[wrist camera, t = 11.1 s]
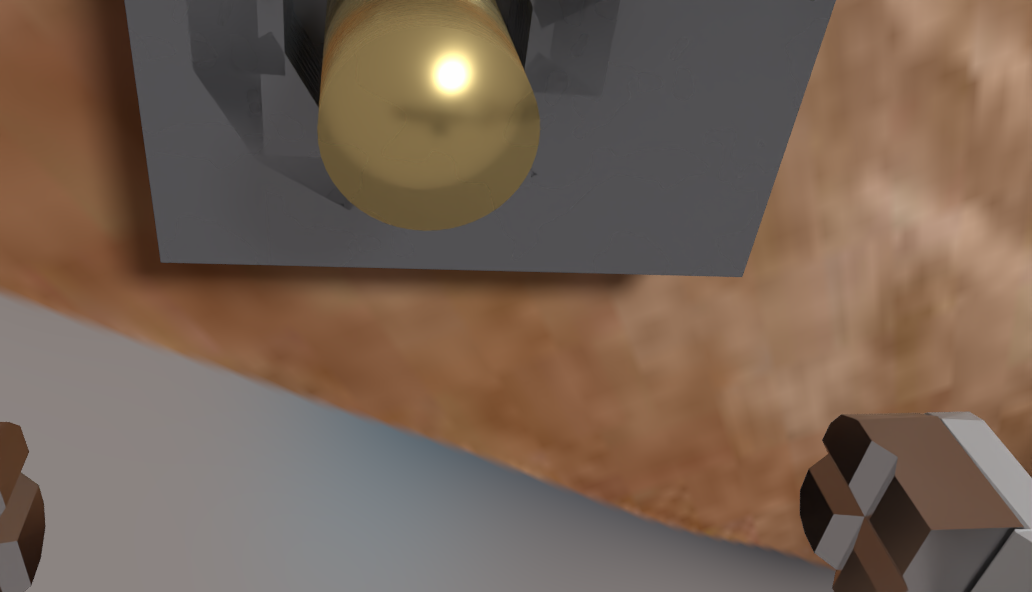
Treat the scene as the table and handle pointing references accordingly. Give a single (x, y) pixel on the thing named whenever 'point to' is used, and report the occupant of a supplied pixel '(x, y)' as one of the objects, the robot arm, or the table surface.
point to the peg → (424, 110)
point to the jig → (560, 155)
